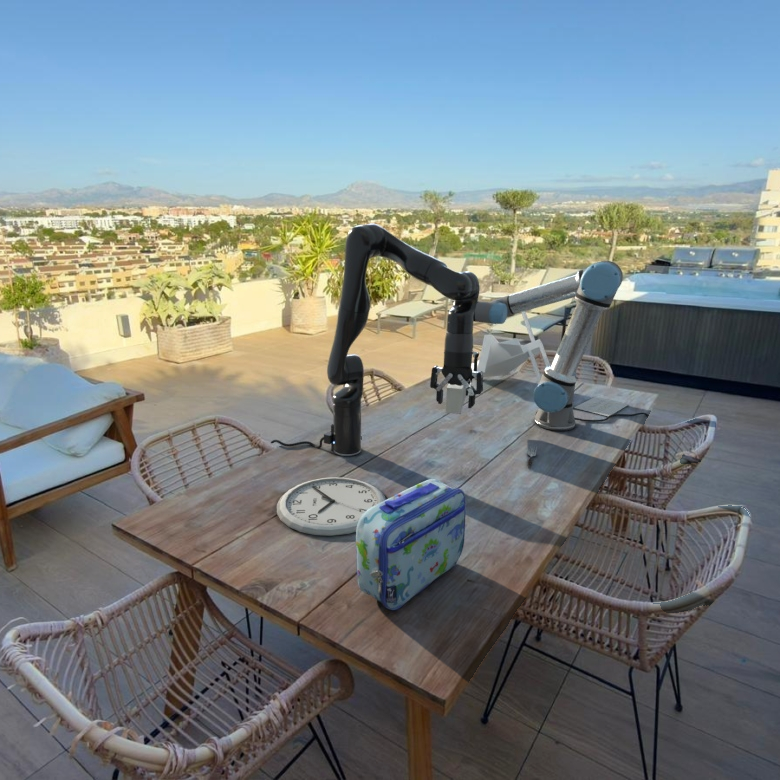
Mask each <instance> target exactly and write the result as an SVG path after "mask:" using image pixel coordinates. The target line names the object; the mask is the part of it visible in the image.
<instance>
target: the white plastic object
mask: <svg viewBox="0 0 780 780" xmlns="http://www.w3.org/2000/svg"><path fill="white" fill-rule="evenodd" d="M520 314H521V315H522V319H523V321H524V324H525V325H524V326H525V328H526V331H527V334H528V336H529V339H530V342H528V343H526V344H522V343H521V342H520V341H519V338H518V337H517V338H512V339H508V340H503V341H499V340H498V339H497V338H496V337H495V336H494V335H493V334H484V335H483V340H482V345H481V350H480V353H479V358H478V361H477V372H479V371H482V372H483V379H485V378H492V377H501V378H503V377H506V376H509V375H511V372H512V371H514V370H515V369H517V368H518V367H519V366H521V365H523V364H524V363H525V362H527V361H528V360H529V359H530V361H531V362H530V363H531V364H532V365H531V366H532V369H533V371H534V374H535V377H536V380H537V384H539V382H540V380H541V377H542V375H541V372H540V369H539V366H538V363H537V359H536V357H535V355H536V356H537V355H538V354H541V356H542V359H543V361H544V362H543V363H544V364H545V368H546V367H548V366H551V363H550V361H549V358H548V355H547V353H546V350H545V346H544V344H543V341H542V340H541V338H538V339H535V336H534V333H533V330H532V327H531V324H530V321H529V317H528V315H527V312H526V311H524V312H520ZM471 368H472V371H474V362H472V366H471Z"/></svg>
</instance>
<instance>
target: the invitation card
mask: <svg viewBox="0 0 780 780" xmlns="http://www.w3.org/2000/svg"><path fill="white" fill-rule="evenodd" d="M628 406H629V404H627V403H623V402H618V401H614V400H609V399H605V398H601V397H596V396H593V397H592V398H590V399H588V400H586V401H584V402H582V403H580V404H578V405H575V406H574V407H573V409H575V410H581V411H584V412H587V413H593V414H596V415H600V416H604V417H608V416H610V415H613V414H617V412H619V411H621V410H623V409H624V408H626V407H628Z"/></svg>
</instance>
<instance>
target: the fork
mask: <svg viewBox="0 0 780 780" xmlns="http://www.w3.org/2000/svg"><path fill="white" fill-rule="evenodd" d="M533 448H535V449H533ZM533 448H531V447H529V448H528V451H527V456H529V459H528V460H527V469H530V467H531V465H532V463H533V460H532V459H533V457H535V456H537V445H536V447H535V445H534V446H533Z"/></svg>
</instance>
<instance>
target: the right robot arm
mask: <svg viewBox="0 0 780 780" xmlns="http://www.w3.org/2000/svg"><path fill="white" fill-rule="evenodd" d="M623 278H624V276H623V271H622V269H621V267H620V266H619V265H618V264H617V263H615V262H614V261H611V260H601V261H599V262H598V261H597V262H594V263H592V264H591V265H589V266H588V267H586V268H584V269H580V270H578V271H577V273H575V274H574V275H569V276H567V277H564V278H560V279H557V280H555V281H551V282H548V283H545V284H541V285H538V286H535V287H531V288H528V289H526V290H522V291H518V292H515V293H512V294H509V295H506V296H501V297H497V298H495V299H493V300H491V301H479V300H478V301H477V306H476V309H475V312H474V317H473V323H474V322H476V323H485V324H493V325H503V324H505V322H506V321H507V318H508V317H510V316H513V315H517V314H521V312H524V311H525V312H527V311H531V310H534V309H538V308H542V307H545V306H548V305H551V304H555V303H559V302H563V301H566V300H570V299H573V298H575V300H576V305H575V308H574V310H573V312H572V314H571V317H570V320H569V322H568V324H567V326H566V329H565V332H564V334H563V336H562V339H561V341H560V343H559V346H558V348H557V350H556V353H555V355H554V357H553V359H552V363H551V364H550V366H548V367H546V366H545V368H544V370H543V372H542V375H541V380H540V382H539V383H537V385H536V387H535V388H534V391H533V401H534V403H535V405H536V406H537V408H538V410H537V411H536V412H535V417H534V424H535V425H536V426H537V427H539V428H542V429H544V430H549V431H556V432H567V431H572V430H574V429H575V428H576V421H579V422H580V421H581V422H591V423H595V422H596V423H598V422H606V421H607V420H609V419H610V418H611V417H634V416H640V415H644V416H646V417H650V416H649V414H648V413H646V412H636V413H614V414H613V415H610V416H606V418H602V419H585V418H584V419H583V418H579V417H576V416H575V413H574V407H573V405H574V398H575V389H576V383H577V379H578V377H577V376H578V375H577V371H578V368H579V366H580V365H581V361H582V359H583V357H584V354H585V352H586V350H587V348H588V346H589V343H590V341H591V339H592V337H593V334H594V332H595V330H596V327H597V325H598V324H599V320H600V318H601V316H602V314H603V312H604V311H606V310H609V309H610V307H611V305H612V303H613V301H614V299H615V297H616V293H617V292H618V291H619V288H620V287H621V285H622V283H623ZM479 357H480V352H479V351H477V352H476V351H474V350H473V351H472V358H473V363H474V372H477V361H478V360H479ZM473 380H475V379H474V376H471V377H470V381H471V382H472V383H473ZM448 384H449V383H447V385H448ZM466 397H469V392H468V391H467V389H466Z"/></svg>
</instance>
